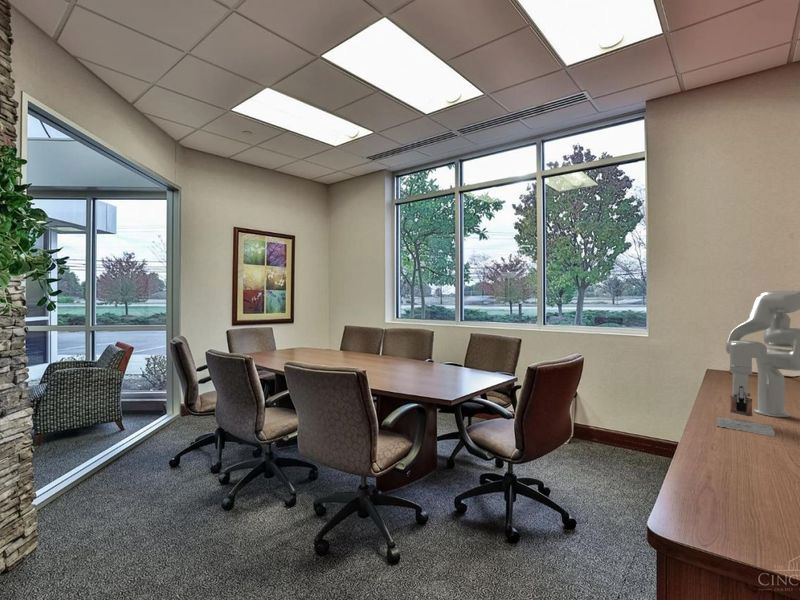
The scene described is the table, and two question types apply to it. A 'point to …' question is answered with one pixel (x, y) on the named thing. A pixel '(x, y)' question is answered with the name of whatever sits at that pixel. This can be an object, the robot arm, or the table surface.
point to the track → (746, 426)
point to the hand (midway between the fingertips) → (741, 409)
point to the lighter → (748, 405)
